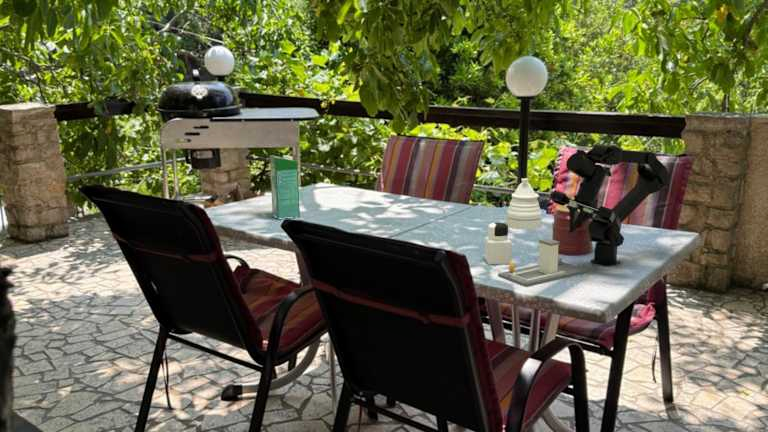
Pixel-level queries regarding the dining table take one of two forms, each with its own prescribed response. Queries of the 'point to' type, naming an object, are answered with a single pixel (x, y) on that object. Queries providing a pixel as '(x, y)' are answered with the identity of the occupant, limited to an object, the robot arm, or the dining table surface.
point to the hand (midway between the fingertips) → (570, 232)
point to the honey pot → (524, 208)
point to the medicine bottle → (498, 244)
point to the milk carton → (284, 186)
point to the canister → (570, 241)
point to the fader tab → (548, 256)
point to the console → (533, 276)
